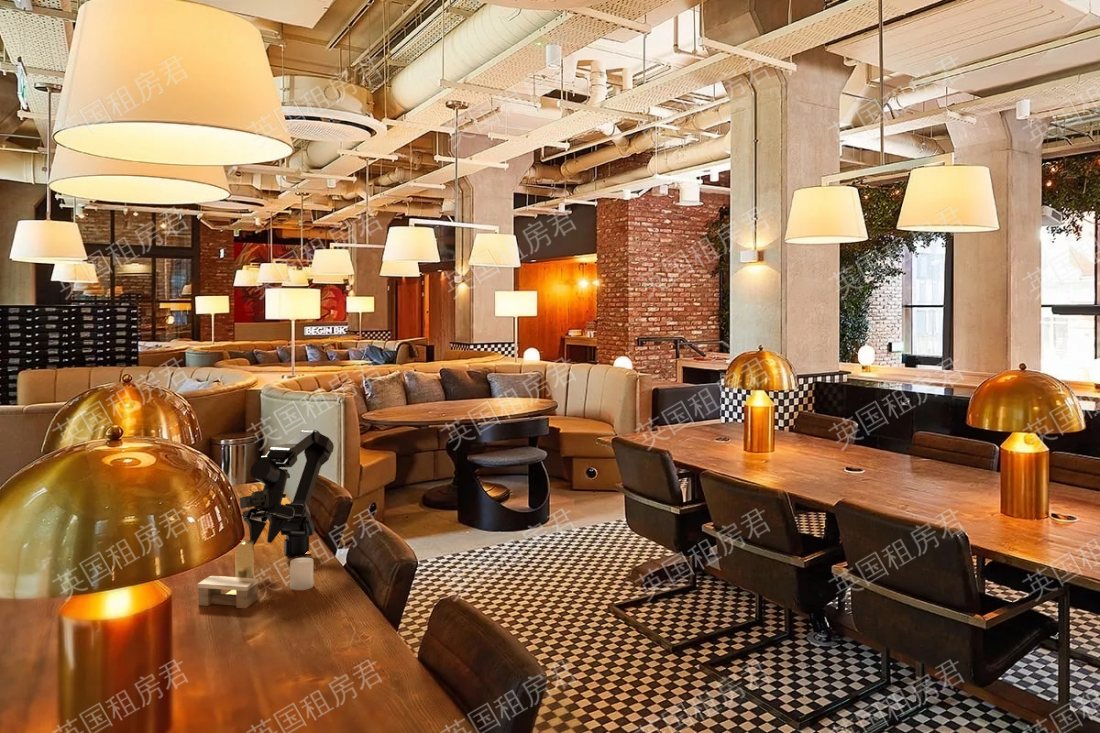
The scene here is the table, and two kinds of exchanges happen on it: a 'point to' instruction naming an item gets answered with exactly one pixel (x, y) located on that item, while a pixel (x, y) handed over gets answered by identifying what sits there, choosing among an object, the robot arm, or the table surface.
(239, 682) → the table surface
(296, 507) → the robot arm
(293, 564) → the white cylinder
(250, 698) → the table surface
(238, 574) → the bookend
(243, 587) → the bridge
